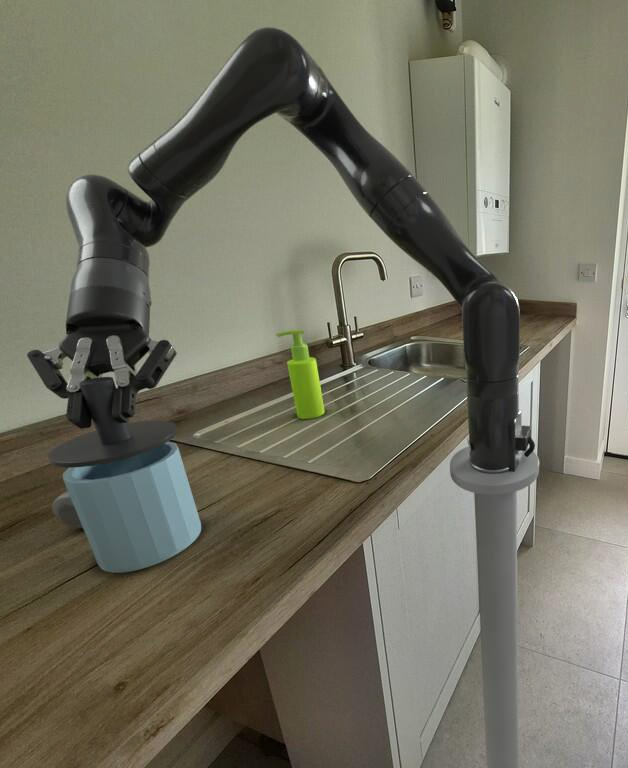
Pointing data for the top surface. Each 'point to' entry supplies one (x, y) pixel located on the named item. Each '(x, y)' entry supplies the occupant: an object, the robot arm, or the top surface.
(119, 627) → the top surface
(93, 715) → the top surface
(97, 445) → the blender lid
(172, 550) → the light blue cup
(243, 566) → the top surface
